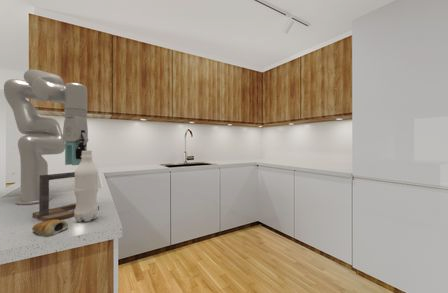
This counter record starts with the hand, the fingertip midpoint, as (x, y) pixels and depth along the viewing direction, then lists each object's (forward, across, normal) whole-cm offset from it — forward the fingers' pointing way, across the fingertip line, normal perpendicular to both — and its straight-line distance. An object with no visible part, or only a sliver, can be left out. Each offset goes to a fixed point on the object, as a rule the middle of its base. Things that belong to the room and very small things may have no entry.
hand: (76, 158), depth 84 cm
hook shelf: (+22, 0, -3) cm, 22 cm away
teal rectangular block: (+3, 0, 0) cm, 3 cm away
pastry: (+22, +15, -15) cm, 30 cm away
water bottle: (+22, +14, -4) cm, 26 cm away
